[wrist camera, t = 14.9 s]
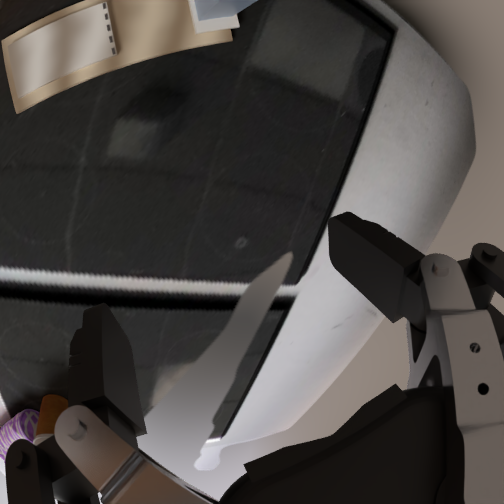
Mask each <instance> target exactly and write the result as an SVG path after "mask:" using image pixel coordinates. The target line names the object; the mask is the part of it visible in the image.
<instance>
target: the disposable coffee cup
mask: <svg viewBox="0 0 504 504" xmlns="http://www.w3.org/2000/svg"><path fill="white" fill-rule="evenodd" d="M67 408H68V400H67V399H65V398H64V397H61V396H58V395H52V394H50V395H46V396H44V397H43V399H42V403H41V408H40V413H39V418H38V424H37V430H36V436H35V438H34V440H33V444H34V445H38V444H39V443H41V442H43V441H44V440H46V439H47V438H49V437H51V436H52V435H54V434H55V432H54V431H55V425H56V422H57V419H58V418H59V416H60V415H61V414H62V412H64V411H65V410H66V409H67Z"/></svg>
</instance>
